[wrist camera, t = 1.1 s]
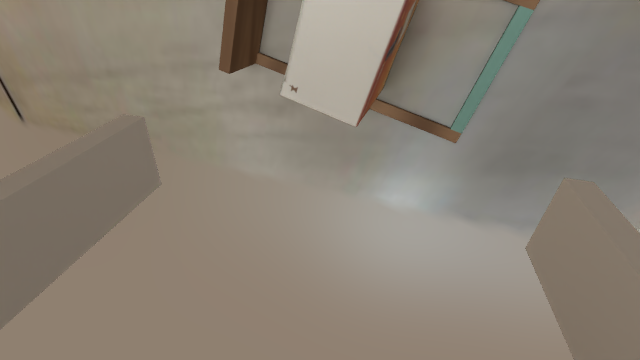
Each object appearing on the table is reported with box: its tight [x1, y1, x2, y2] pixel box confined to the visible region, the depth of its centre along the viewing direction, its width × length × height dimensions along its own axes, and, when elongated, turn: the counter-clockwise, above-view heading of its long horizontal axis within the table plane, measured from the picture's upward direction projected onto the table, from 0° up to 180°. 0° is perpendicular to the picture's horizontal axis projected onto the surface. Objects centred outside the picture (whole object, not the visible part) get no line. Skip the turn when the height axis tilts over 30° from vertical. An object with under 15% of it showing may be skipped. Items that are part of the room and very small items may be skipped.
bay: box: [219, 0, 540, 143], centre depth 25 cm, size 21×12×5 cm, turn 73°
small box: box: [280, 0, 419, 127], centre depth 23 cm, size 8×6×10 cm
